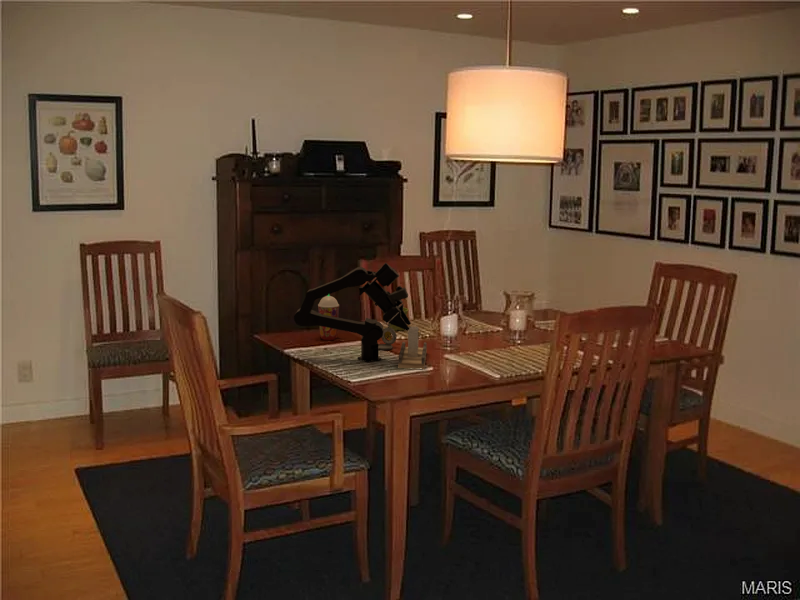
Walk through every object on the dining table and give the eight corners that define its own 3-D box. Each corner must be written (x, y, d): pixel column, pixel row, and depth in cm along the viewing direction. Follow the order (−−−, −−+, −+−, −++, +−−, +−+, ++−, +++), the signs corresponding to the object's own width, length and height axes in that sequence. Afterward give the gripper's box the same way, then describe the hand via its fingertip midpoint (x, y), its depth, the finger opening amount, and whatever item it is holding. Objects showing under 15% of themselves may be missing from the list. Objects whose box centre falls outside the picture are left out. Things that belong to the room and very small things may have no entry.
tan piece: (424, 369, 297) (424, 358, 296) (398, 368, 297) (398, 357, 297) (426, 352, 320) (426, 342, 320) (402, 352, 321) (402, 341, 320)
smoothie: (319, 336, 345) (319, 287, 342) (340, 336, 345) (340, 287, 341) (316, 340, 337) (316, 290, 334) (337, 341, 337) (338, 291, 333)
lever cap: (407, 356, 306) (408, 329, 304) (408, 353, 311) (408, 326, 309) (419, 357, 306) (420, 329, 304) (420, 353, 311) (420, 326, 309)
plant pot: (412, 328, 361) (412, 308, 360) (400, 332, 353) (400, 312, 352) (393, 326, 366) (394, 306, 364) (381, 330, 358) (381, 309, 357)
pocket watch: (375, 350, 323) (375, 324, 321) (374, 345, 331) (375, 319, 329) (396, 350, 323) (397, 324, 321) (396, 345, 332) (396, 320, 330)
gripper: (393, 284, 295) (424, 317, 296) (397, 276, 313) (426, 306, 314) (369, 306, 297) (401, 338, 298) (375, 296, 315) (404, 327, 316)
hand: (409, 326), depth 307 cm, fingers open, 9 cm apart
